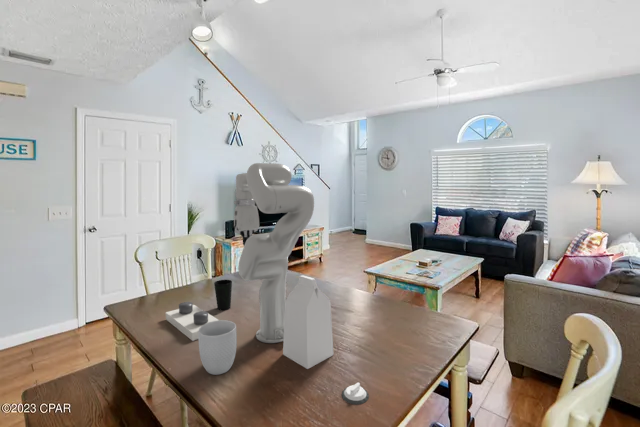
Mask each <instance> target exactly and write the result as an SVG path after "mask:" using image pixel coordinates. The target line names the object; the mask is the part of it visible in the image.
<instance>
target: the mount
mask: <svg viewBox="0 0 640 427" xmlns="http://www.w3.org/2000/svg"><path fill="white" fill-rule="evenodd" d="M200 311H205V310H203V309H202V308H200V307H198V305H195V304H193V311H192V312H190V313H187V314H181V313H179V308H177V309H173V310H169V311H166V312H165V320H166V321H167V322H169V323H170V324H171V325H172V326H174V327H175V328H176V329H177V330H178V331H180V332H181V333H182V334H183V335H185V336H186V338H189V340H191V341H192V342H194V341H196V340H197V341H198V340H199V339H198V338H199V336H198V331H199V328H200V327H201V326H203V325H204V324H206V323H204V324H200V325H198V324H194V316H193V315H194V314H195V313H196V312H200ZM218 320H219V319H218V318H216V317H215V316H213V315H212V314H210V313H208V322H207V323H209V322H212V321H218Z"/></svg>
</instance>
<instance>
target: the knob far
mask: <svg viewBox="0 0 640 427" xmlns="http://www.w3.org/2000/svg"><path fill="white" fill-rule="evenodd" d="M193 305H194V303H193V302H192V301H185V302H180V303H179V304H178V309H179V313H181V314H187V313H190V312H192V311H193Z"/></svg>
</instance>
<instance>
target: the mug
mask: <svg viewBox="0 0 640 427" xmlns="http://www.w3.org/2000/svg"><path fill="white" fill-rule="evenodd" d="M237 332H238V331H237V324H236V323H235V322H234V321H231V320H226V319H221V320H220V319H218V321H212V322H209V323H206V324H204V325H203V326H201V327H200V328H199V331H198V336H199V338H198V339H197V341H198V350H199V352H198V353H199V358H200V360H201V363H202V366H203V368H204V369H205V371H206V372H207V373H208V374H210V375H214V376H215V375H216V376H218V375H223V374H225V373H227V372H228V371H229V370H230V369H231V368H232V366H233V364H234V363H235V362H234V361H235V358H236V354H237V345H238V344H237V343H238V342H237V341H238V338H237V335H238V334H237Z"/></svg>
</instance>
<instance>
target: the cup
mask: <svg viewBox="0 0 640 427" xmlns="http://www.w3.org/2000/svg"><path fill="white" fill-rule="evenodd" d="M232 290H233V281H232V280H230V279H219V280H216V281H214V293H215V299H216V306H217V307H216V308H217V311H222V312H223V311H228V310H230V309H231V304H232Z"/></svg>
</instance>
